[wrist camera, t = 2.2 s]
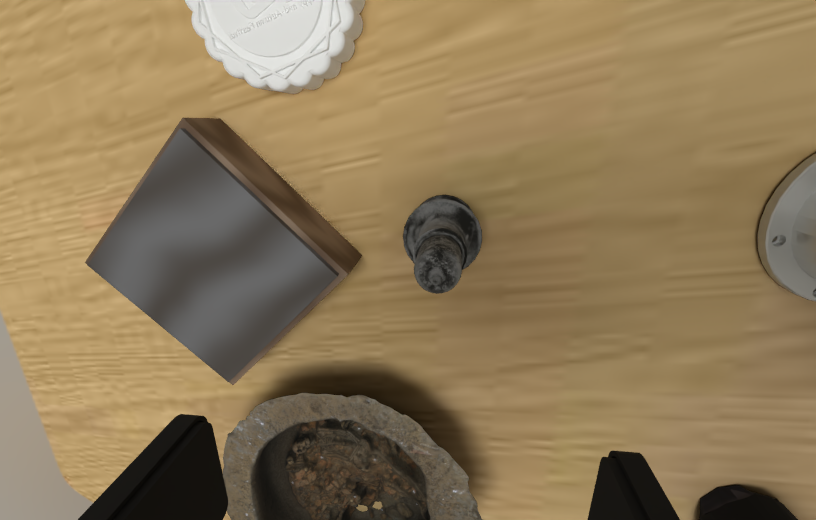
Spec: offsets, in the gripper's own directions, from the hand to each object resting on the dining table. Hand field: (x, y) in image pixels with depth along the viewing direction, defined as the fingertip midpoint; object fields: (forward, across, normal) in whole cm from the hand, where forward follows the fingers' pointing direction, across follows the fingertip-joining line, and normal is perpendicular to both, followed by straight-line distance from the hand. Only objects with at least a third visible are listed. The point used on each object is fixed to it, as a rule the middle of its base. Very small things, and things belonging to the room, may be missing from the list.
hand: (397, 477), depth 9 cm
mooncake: (+25, +12, -16) cm, 32 cm away
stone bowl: (+24, +8, +25) cm, 36 cm away
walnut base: (+24, +18, +3) cm, 30 cm away
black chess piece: (+24, -1, 0) cm, 24 cm away
